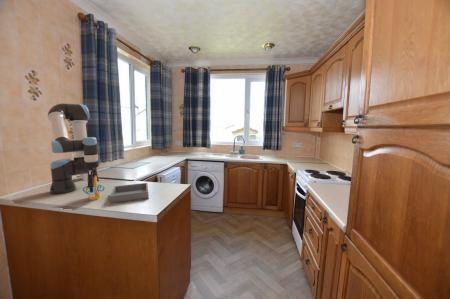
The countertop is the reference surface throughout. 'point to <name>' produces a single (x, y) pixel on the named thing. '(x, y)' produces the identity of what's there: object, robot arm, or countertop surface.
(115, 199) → the bin
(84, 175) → the clear glass vessel
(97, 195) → the orange toy
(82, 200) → the countertop surface
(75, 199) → the countertop surface
